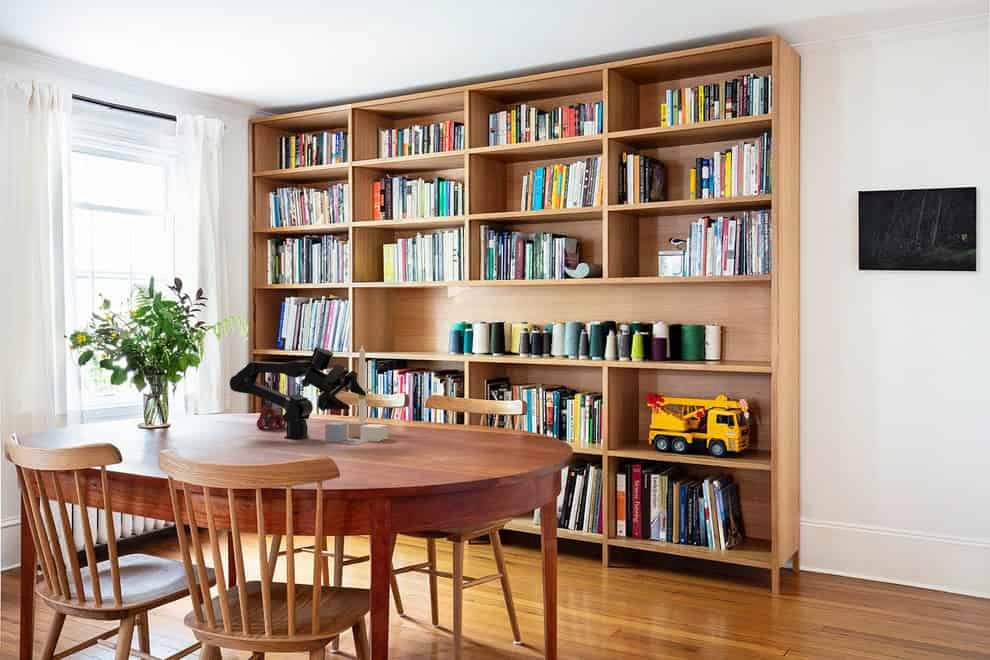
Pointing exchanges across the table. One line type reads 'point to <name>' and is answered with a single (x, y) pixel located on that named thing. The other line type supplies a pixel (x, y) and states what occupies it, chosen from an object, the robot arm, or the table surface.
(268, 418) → the toy fire truck
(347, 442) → the tile
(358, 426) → the terracotta block
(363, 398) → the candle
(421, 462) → the table surface
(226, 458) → the table surface
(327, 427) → the grey block
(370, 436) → the cream block
